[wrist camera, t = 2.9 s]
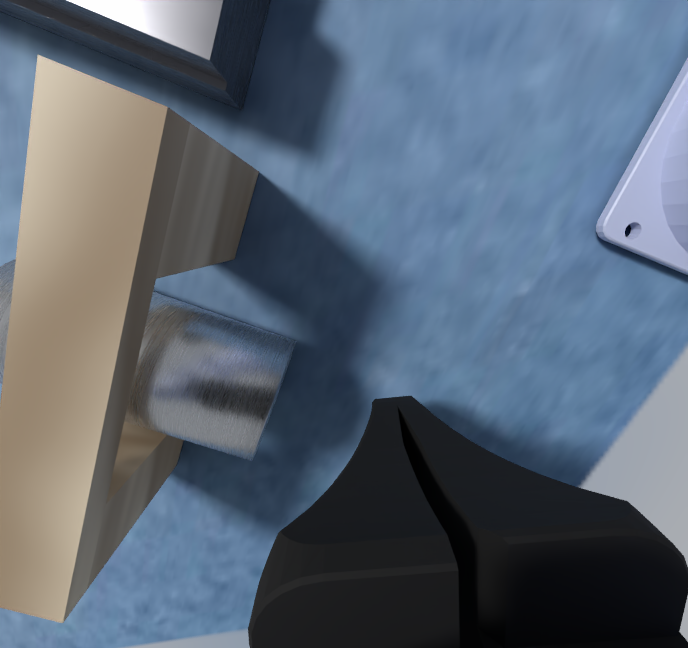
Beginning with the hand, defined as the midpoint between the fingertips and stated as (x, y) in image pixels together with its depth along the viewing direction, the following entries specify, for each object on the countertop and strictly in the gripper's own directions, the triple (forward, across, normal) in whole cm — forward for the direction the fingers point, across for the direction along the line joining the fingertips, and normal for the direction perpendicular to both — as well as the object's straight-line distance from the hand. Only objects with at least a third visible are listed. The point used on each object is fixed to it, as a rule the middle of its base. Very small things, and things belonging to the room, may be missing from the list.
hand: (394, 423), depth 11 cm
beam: (+2, +7, -4) cm, 8 cm away
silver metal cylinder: (+2, +7, -4) cm, 8 cm away
